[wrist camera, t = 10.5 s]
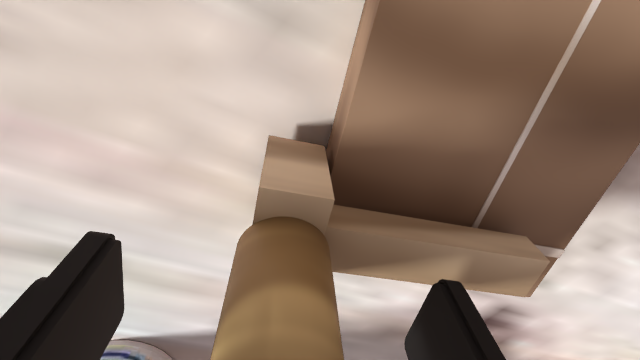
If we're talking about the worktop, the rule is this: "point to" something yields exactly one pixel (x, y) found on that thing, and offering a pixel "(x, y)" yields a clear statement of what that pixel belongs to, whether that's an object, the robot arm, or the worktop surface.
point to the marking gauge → (341, 260)
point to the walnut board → (489, 113)
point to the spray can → (132, 351)
